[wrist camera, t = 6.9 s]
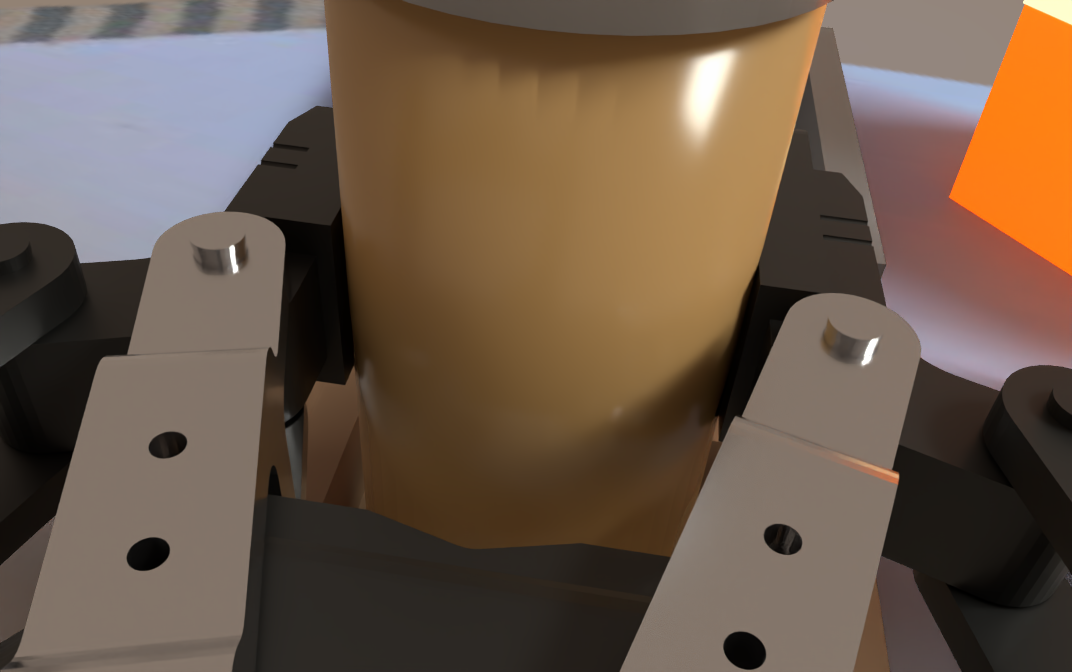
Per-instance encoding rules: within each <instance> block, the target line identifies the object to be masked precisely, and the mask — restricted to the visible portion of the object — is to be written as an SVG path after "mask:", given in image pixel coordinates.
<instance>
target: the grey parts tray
mask: <svg viewBox="0 0 1072 672" xmlns="http://www.w3.org/2000/svg"><path fill="white" fill-rule="evenodd" d="M794 129H802V130H807V132H808V137H809V144H810V151H811V158H812V164H813V169H815V170H823V171H831V172H839V173H842V174H843V175H844V176H845V177H846V178H847V179H848V180H849V182H850V183H851V184H852V185H853V186H854V187H855V188H856V189H857V190H858V192H859V193H860V194H861V195H862V196H863V199H864V204H865V209H866V213H867V218H868V224H867V226H869V227H870V232H871V237H872V246H874V251H875V255H876V260H877V265H878V270H879V274H880V279H881V277H882V275H883V272H884V269H885V266H886V261H885V257H884V252H883V248H882V244H881V239H880V235H879V230H878V226H877V221H876V217H875V213H874V208H873V204H872V199H871V195H870V190H869V186H868V182H867V177H866V173H865V168H864V164H863V159H862V155H861V151H860V146H859V142H858V137H857V133H856V128H855V124H854V120H853V115H852V111H851V106H850V102H849V98H848V93H847V89H846V84H845V80H844V75H843V71H842V67H841V62H840V58H839V53H838V49H837V45H836V40H835V36H834V31H833V28H825V27H821V28H820V32H819V36H818V40H817V44H816V47H815V51H814V55H813V59H812V63H811V67H810V70H809V74H808V78H807V82H806V86H805V89H804V93H803V97H802V101H801V105H800V109H799V112H798V116H797V120H796V124H795V128H794Z"/></svg>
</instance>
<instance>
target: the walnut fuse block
mask: <svg viewBox="0 0 1072 672" xmlns="http://www.w3.org/2000/svg"><path fill="white" fill-rule="evenodd" d="M306 404H307V412H308V421H309V423H308V454H307V485H306V500H308V501H314V502H321V503H327V504H334V505H340V506H346V507H353V508H359V509H366V501H365V489H364V476H363V464H362V452H361V440H360V428H359V416H358V404H357V392H356V380H355V368H354V366H353V369H352V371H351V373H350V376H349V378H348V380H347V383H346V385H339V384H333V383H326V382H319V381H316V382H315V384H314V386H313V389H312V391H311V393H310V395H309V397H308V399H307V401H306ZM722 443H723V442H720V441H718V421H717V425H716V429H715V433H714V437H713V440H712V444H711V448H710V452H709V456H708V459H707V463H706V467H705V471H704V475H703V479H702V482H701V486H700V490H699V494H700V492H701V489H702V487H703V485H704V483H705V481H706V478H707V476H708V474H709V472H710V469H711V467H712V465H713V463H714V460H715V458H716V456H717V454H718V452H719V449H720V447H721V445H722ZM699 494H698V496H699ZM853 672H890V668H889V661H888V654H887V648H886V641H885V634H884V628H883V621H882V614H881V607H880V601H879V594H878V587H877V581H876V579H875V583H874V587H873V591H872V595H871V599H870V604H869V608H868V612H867V616H866V620H865V624H864V629H863V633H862V637H861V641H860V645H859V649H858V654H857V658H856V662H855V666H854V670H853Z"/></svg>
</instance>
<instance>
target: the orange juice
mask: <svg viewBox="0 0 1072 672" xmlns="http://www.w3.org/2000/svg"><path fill="white" fill-rule="evenodd" d="M1023 3H1024V4H1025V5H1024V8H1023V10H1022V13H1021V15H1020V18H1019V21H1018V23H1017V26H1016V28H1015V31H1014V33H1013V36H1012V38H1011V41H1010V43H1009V46H1008V48H1007V51H1006V54H1005V56H1004V59H1003V62H1002V64H1001V66H1000V69H999V71H998V74H997V77H996V79H995V82H994V84H993V87H992V89H991V92H990V94H989V97H988V99H987V102H986V104H985V107H984V110H983V112H982V115H981V117H980V120H979V122H978V125H977V127H976V130H975V132H974V135H973V137H972V140H971V143H970V145H969V148H968V150H967V153H966V155H965V158H964V160H963V163H962V165H961V168H960V171H959V173H958V176H957V178H956V181H955V183H954V186H953V188H952V191H951V193H950V196H949V198H951V199H952V200H954V201H955V202H957V203H959V204H960V205H962V206H963V207H965V208H966V209H968V210H970V211H971V212H973V213H974V214H976V215H977V216H979V217H981V218H982V219H984V220H985V221H987V222H988V223H990V224H992V225H993V226H995V227H996V228H998V229H999V230H1001V231H1002V232H1004V233H1006V234H1007V235H1009V236H1010V237H1012V238H1013V239H1015V240H1017V241H1018V242H1020V243H1021V244H1023V245H1024V246H1026V247H1028V248H1029V249H1031V250H1032V251H1034V252H1035V253H1037V254H1039V255H1040V256H1042V257H1043V258H1045V259H1046V260H1048V261H1050V262H1051V263H1053V264H1054V265H1056V266H1057V267H1059V268H1060V269H1062V270H1064V271H1065V272H1067V273H1068V274H1070V275H1071V276H1072V0H1024V2H1023Z"/></svg>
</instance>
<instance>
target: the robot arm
mask: <svg viewBox="0 0 1072 672" xmlns="http://www.w3.org/2000/svg"><path fill="white" fill-rule="evenodd" d="M867 224H868V218H867V213H866V209H865V204H864V199H863V196H862V195H861V194H860V193H859V192H858V190H857V189H856V188H855V187H854V186H853V185H852V184H851V183H850V182H849V180H848V179H847V178H846V177H845V176H844V175H843V174H842V173H839V172H831V171H823V170H815V169H813V164H812V158H811V151H810V144H809V137H808V132H807V130H802V129H794V131H793V135H792V139H791V143H790V147H789V150H788V154H787V158H786V162H785V166H784V170H783V173H782V177H781V181H780V185H779V189H778V192H777V196H776V200H775V204H774V208H773V211H772V215H771V219H770V223H769V227H768V231H767V234H766V238H765V242H764V246H763V249H762V253H761V256H760V259H759V263H758V266H757V270H756V274H755V278H754V282H753V286H752V289H751V293H750V297H749V301H748V305H747V308H746V312H745V316H744V320H743V324H742V328H741V331H740V335H739V339H738V343H737V347H736V351H735V354H734V358H733V362H732V366H731V370H730V373H729V377H728V381H727V385H726V389H725V393H724V396H723V400H722V404H721V408H720V412H719V415H718V441H720V442H723V443H722V445H721V447H720V449H719V452H718V454H717V456H716V458H715V460H714V463H713V465H712V467H711V469H710V472H709V474H708V476H707V478H706V481H705V483H704V485H703V487H702V489H701V492H700V494H699V496H698V498H697V501H696V503H695V505H694V507H693V509H692V512H691V514H690V516H689V518H688V521H687V523H686V525H685V527H684V529H683V532H682V534H681V536H680V538H679V541H678V543H677V545H676V547H675V550H674V552H673V554H672V556H671V557H667V556H661V555H654V554H648V553H642V552H635V551H629V550H622V549H616V548H610V547H603V546H597V545H590V544H584V543H575V544H558V545H540V546H523V547H506V548H489V549H470V548H464V547H461V546H458V545H455V544H453V543H450V542H448V541H445V540H443V539H440V538H438V537H435V536H433V535H430V534H428V533H425V532H423V531H420V530H418V529H415V528H413V527H410V526H408V525H405V524H403V523H400V522H397V521H395V520H392V519H390V518H387V517H385V516H382V515H380V514H377V513H375V512H372V511H370V510H366V509H359V508H353V507H346V506H340V505H334V504H327V503H321V502H314V501H308V500H306V485H307V454H308V423H309V421H308V412H307V404H306V401H307V399H308V397H309V395H310V393H311V391H312V389H313V386H314V384H315V382H316V381H319V382H326V383H333V384H339V385H346V383H347V380H348V378H349V376H350V373H351V371H352V369H353V366H354V356H353V344H352V332H351V319H350V307H349V295H348V283H347V271H346V259H345V247H344V235H343V223H342V211H341V199H340V187H339V174H338V162H337V150H336V138H335V126H334V114H333V108H330V107H322V106H316V107H314V108H312V109H310V110H309V111H307V112H305V113H304V114H302V115H300V116H298V117H297V118H295V119H293V120H291V121H290V122H288V124H287V125H286V126H285V128H284V129H283V130H282V132H281V133H280V135H279V136H278V137H277V139H276V140H275V142H274V143H273V147H270V149H269V150H268V151H267V153H266V154H265V156H264V157H263V158H262V160H261V165H259V164H258V165H257V167H256V168H255V169H254V171H253V172H252V174H251V175H250V176H249V178H248V179H247V181H246V182H245V183H244V185H243V186H242V188H241V189H240V190H239V192H238V193H237V195H236V196H235V197H234V199H233V200H232V201H231V203H230V204H229V206H228V207H227V208H226V210H225V211H224V212H215V213H209V214H203V215H199V216H196V217H192V218H190V219H187V220H184V221H182V222H180V223H178V224H176V225H174V226H173V227H171V228H170V229H168V230H167V231H166V232H165V233H164V234H163V235H161V236H160V238H159V239H158V240H157V242H156V243H155V246H154V248H153V252H152V256H151V258H146V259H136V260H123V261H109V262H94V263H80V262H79V259H78V255H77V252H76V249H75V246H74V243H73V240H72V239H71V238H70V237H69V235H67V234H66V233H65V232H63V231H62V230H60V229H58V228H55V227H52V226H49V225H46V224H39V223H27V222H20V223H7V224H0V565H1V564H2V563H3V562H4V561H5V560H6V559H8V558H9V557H10V556H11V555H12V554H13V553H14V552H15V551H16V550H18V549H19V548H20V547H21V546H22V545H23V544H24V543H25V542H26V541H27V540H29V539H30V538H31V537H32V536H33V535H34V534H35V533H36V532H37V531H38V530H40V529H41V528H42V527H43V526H44V525H45V524H46V523H47V522H48V521H49V520H51V519H52V518H53V517H54V516H55V515H56V517H55V521H54V524H53V528H52V532H51V535H50V539H49V542H48V546H47V550H46V553H45V557H44V560H43V564H42V568H41V571H40V575H39V579H38V582H37V586H36V589H35V593H34V597H33V600H32V604H31V607H30V611H29V615H28V618H27V622H26V626H25V629H23V630H21V631H20V632H18V633H16V634H15V635H13V636H12V637H10V638H8V639H7V640H5V641H3V642H2V643H0V672H853V670H854V666H855V662H856V658H857V654H858V649H859V645H860V641H861V637H862V633H863V629H864V624H865V620H866V616H867V612H868V608H869V604H870V599H871V595H872V591H873V587H874V583H875V579H876V574H877V570H878V566H879V562H880V558H881V556H883V557H885V558H888V559H890V560H893V561H895V562H897V563H900V564H902V565H904V566H907V567H909V568H911V569H913V574H914V578H915V582H916V584H917V586H918V589H919V591H920V593H921V594H922V596H923V598H924V600H925V602H926V604H927V606H928V608H929V610H930V612H931V614H932V616H933V617H934V619H935V621H936V623H937V625H938V627H939V629H940V631H941V633H942V635H943V637H944V638H945V640H946V642H947V644H948V646H949V648H950V650H951V652H952V654H953V656H954V658H955V659H956V661H957V663H958V665H959V667H960V669H961V671H962V672H1072V587H1071V586H1070V584H1069V583H1068V581H1067V580H1066V578H1065V576H1066V575H1067V574H1068V572H1069V571H1070V573H1071V574H1072V369H1069V368H1065V367H1059V366H1051V365H1038V366H1030V367H1026V368H1023V369H1019V370H1018V371H1016V372H1014V373H1012V374H1011V375H1010V376H1009V377H1008V378H1007V379H1006V381H1005V383H1004V385H1003V387H1002V389H1001V391H997V390H995V389H992V388H989V387H986V386H983V385H980V384H978V383H975V382H972V381H969V380H966V379H964V378H961V377H958V376H955V375H953V374H950V373H948V372H945V371H943V370H941V369H939V368H937V367H935V366H933V365H931V364H930V363H928V362H926V361H925V360H923V359H922V358H920V355H921V346H920V341H919V339H918V337H917V334H916V333H915V331H914V330H913V329H912V327H911V326H910V325H909V324H908V323H907V322H906V321H905V320H904V319H903V318H902V317H900V316H899V315H898V314H896V313H895V312H893V311H892V310H890V309H889V308H887V307H886V302H885V298H884V293H883V288H882V284H881V279H880V274H879V270H878V265H877V260H876V255H875V251H874V246H872V237H871V232H870V227H869V226H867Z"/></svg>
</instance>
